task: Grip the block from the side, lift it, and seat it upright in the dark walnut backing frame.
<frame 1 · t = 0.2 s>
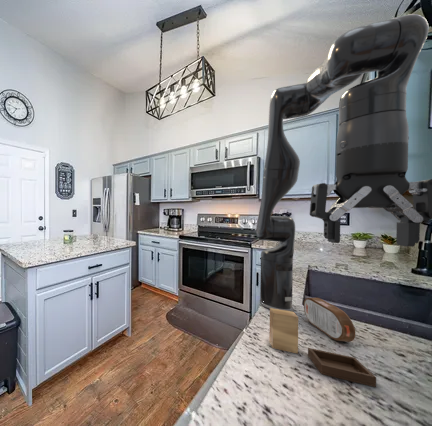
hand: (367, 244, 35), 29 cm above the countertop, tool pointing down, fingers open, 8 cm apart
tin: (325, 332, 60), on the countertop
frame: (338, 370, 45), on the countertop
block: (282, 347, 53), on the countertop
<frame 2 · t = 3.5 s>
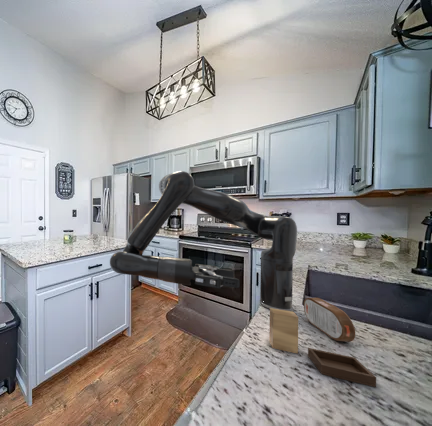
hand: (236, 278, 57), 16 cm above the countertop, tool horizontal, fingers open, 8 cm apart
nothing on the countertop moved.
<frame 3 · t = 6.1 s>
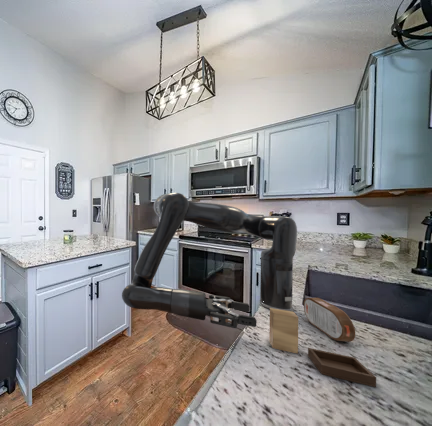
hand: (252, 314, 55), 7 cm above the countertop, tool horizontal, fingers open, 8 cm apart
nothing on the countertop moved.
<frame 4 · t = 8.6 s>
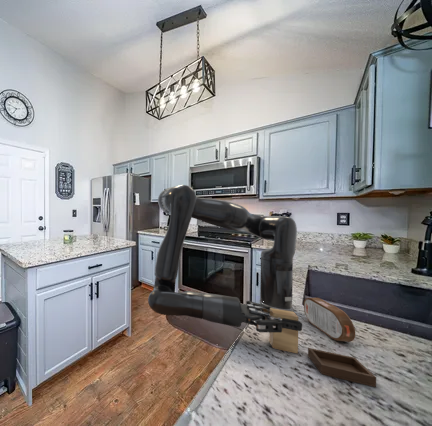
hand: (297, 322, 52), 7 cm above the countertop, tool horizontal, fingers closed on block, 3 cm apart
block: (282, 347, 53), on the countertop, touching gripper
everything else where it was.
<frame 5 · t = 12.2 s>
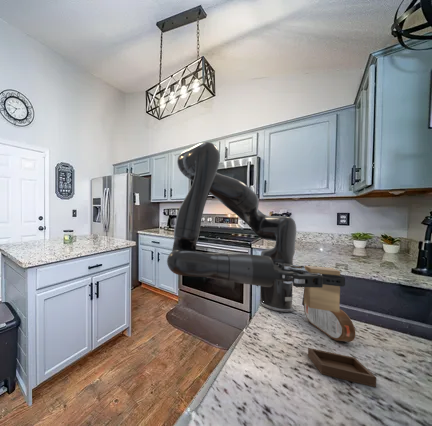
hand: (338, 278, 46), 20 cm above the countertop, tool horizontal, fingers closed on block, 3 cm apart
block: (320, 307, 47), point 13 cm above the countertop, touching gripper
everything else where it was.
when the fingers open (7 cm above the countertop, at t = 16.0 s): block stays where it is, resting on frame.
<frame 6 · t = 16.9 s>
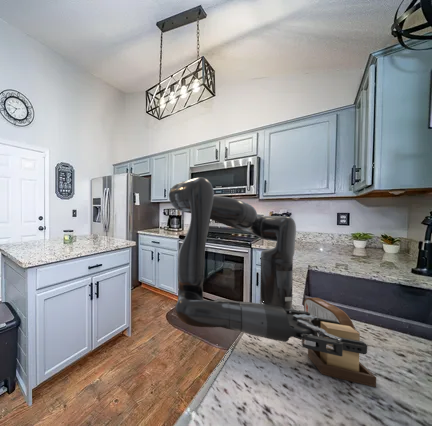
hand: (351, 336, 45), 8 cm above the countertop, tool horizontal, fingers open, 8 cm apart
block: (338, 368, 45), resting on frame
everything else where it was.
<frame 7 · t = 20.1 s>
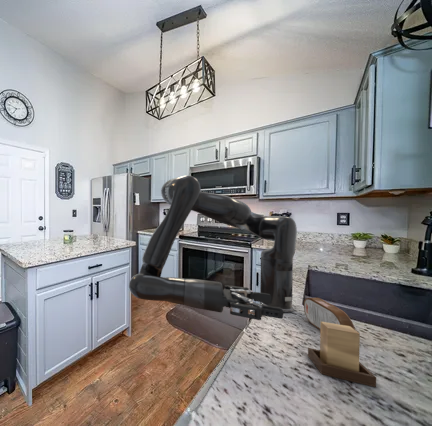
hand: (276, 305, 50), 12 cm above the countertop, tool horizontal, fingers open, 8 cm apart
nothing on the countertop moved.
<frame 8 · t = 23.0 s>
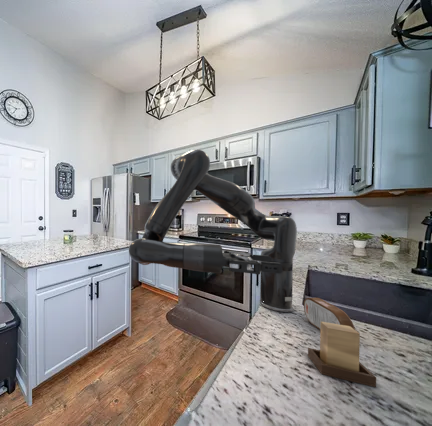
hand: (275, 264, 50), 22 cm above the countertop, tool horizontal, fingers open, 8 cm apart
nothing on the countertop moved.
at the end: block 0.1 cm off-centre in the frame, point 0.5 cm above the frame's base; block tilted 0°; the gripper is holding nothing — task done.
